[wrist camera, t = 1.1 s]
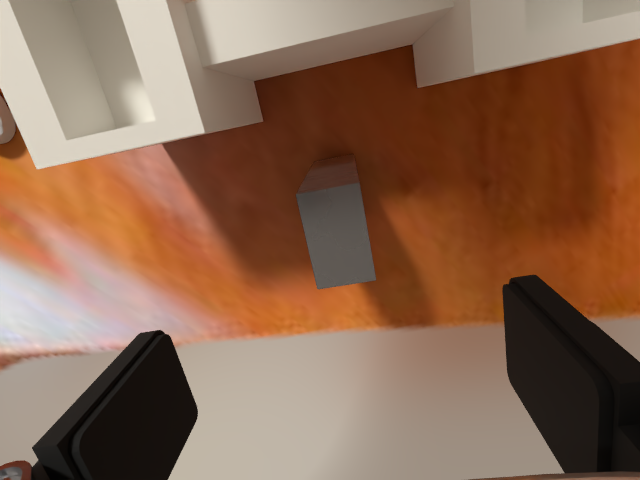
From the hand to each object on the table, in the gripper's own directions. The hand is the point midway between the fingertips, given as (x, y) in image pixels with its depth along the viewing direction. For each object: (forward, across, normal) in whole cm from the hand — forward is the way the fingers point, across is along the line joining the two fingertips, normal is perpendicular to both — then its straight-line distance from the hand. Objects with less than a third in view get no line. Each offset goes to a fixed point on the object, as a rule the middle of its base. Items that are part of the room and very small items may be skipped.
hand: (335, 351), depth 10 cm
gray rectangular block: (+19, 0, -1) cm, 19 cm away
